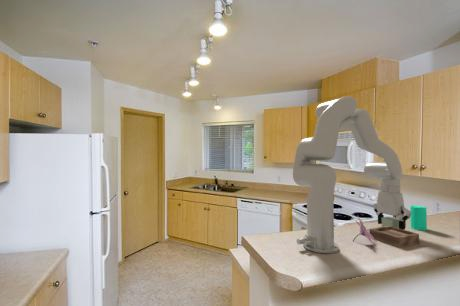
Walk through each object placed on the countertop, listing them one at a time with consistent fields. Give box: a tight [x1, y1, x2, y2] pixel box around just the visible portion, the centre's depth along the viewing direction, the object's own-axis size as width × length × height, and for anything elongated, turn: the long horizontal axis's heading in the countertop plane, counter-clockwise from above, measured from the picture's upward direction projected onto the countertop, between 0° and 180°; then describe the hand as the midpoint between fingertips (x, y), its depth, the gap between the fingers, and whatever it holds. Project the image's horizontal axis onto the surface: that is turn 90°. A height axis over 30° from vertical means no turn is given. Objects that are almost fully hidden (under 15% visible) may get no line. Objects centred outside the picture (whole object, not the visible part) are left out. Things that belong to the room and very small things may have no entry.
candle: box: [409, 204, 428, 231], centre depth 111 cm, size 6×6×12 cm
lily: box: [352, 216, 377, 247], centre depth 94 cm, size 12×12×10 cm
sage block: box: [381, 216, 400, 228], centre depth 107 cm, size 5×5×6 cm
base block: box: [368, 226, 420, 249], centre depth 96 cm, size 12×12×4 cm
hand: (391, 226), depth 107 cm, fingers open, 9 cm apart
